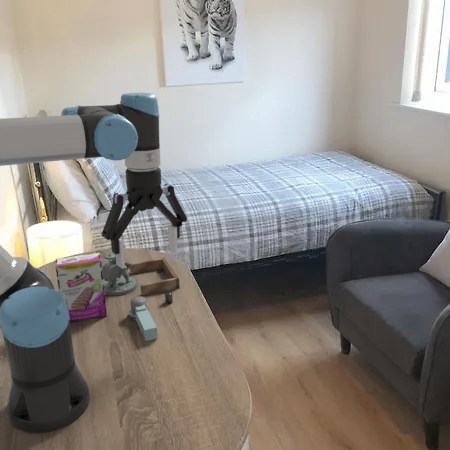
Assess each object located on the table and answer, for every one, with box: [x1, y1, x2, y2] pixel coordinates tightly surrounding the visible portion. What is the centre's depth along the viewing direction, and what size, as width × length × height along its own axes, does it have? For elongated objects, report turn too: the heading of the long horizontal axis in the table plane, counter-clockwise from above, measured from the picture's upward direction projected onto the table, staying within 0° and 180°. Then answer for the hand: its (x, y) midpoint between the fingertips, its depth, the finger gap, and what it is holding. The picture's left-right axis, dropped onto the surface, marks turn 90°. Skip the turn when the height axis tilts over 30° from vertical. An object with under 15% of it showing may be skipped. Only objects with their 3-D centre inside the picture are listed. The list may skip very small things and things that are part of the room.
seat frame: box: [129, 257, 181, 296], centre depth 149 cm, size 11×16×3 cm
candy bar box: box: [55, 252, 108, 323], centre depth 128 cm, size 11×5×16 cm, turn 108°
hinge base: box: [129, 291, 174, 321], centre depth 132 cm, size 12×7×2 cm, turn 112°
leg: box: [130, 296, 159, 342], centre depth 125 cm, size 4×15×4 cm, turn 22°
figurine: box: [102, 253, 138, 297], centre depth 144 cm, size 11×11×12 cm
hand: (147, 258), depth 114 cm, fingers open, 13 cm apart
